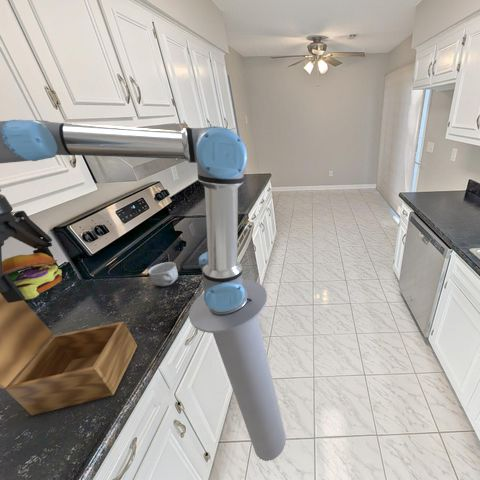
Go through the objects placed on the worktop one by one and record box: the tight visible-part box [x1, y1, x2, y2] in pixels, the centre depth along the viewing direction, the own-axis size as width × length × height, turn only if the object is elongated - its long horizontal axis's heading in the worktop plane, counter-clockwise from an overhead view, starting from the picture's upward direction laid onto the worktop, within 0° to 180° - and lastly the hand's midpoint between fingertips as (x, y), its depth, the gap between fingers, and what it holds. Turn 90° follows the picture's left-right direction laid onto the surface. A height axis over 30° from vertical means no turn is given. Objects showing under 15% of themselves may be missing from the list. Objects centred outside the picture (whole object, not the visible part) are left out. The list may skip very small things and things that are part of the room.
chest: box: [4, 321, 138, 416], centre depth 72 cm, size 19×17×11 cm
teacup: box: [147, 261, 179, 287], centre depth 113 cm, size 14×11×8 cm
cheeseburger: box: [2, 253, 63, 300], centre depth 60 cm, size 10×11×10 cm
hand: (37, 284), depth 61 cm, fingers closed on cheeseburger, 11 cm apart
